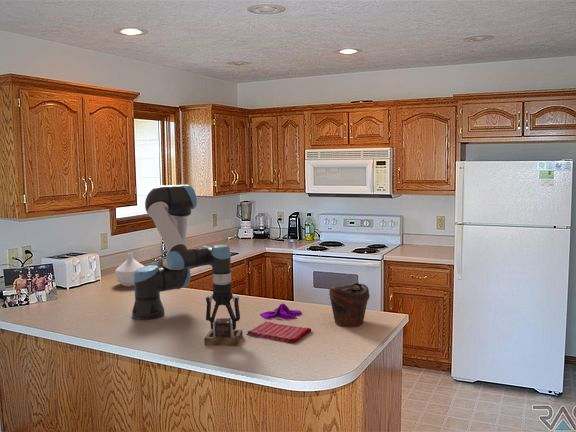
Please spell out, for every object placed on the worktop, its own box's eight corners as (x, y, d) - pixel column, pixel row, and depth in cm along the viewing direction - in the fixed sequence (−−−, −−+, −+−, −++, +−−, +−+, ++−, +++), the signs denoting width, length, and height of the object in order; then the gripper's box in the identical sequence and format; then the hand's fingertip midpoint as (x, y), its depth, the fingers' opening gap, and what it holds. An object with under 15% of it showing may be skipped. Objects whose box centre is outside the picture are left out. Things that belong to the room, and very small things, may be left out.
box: (216, 335, 226) (216, 318, 225) (231, 334, 227) (230, 317, 226) (216, 340, 220) (215, 323, 219) (230, 339, 221) (230, 322, 220)
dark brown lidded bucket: (373, 317, 250) (372, 279, 248) (365, 331, 231) (364, 291, 229) (336, 314, 256) (335, 278, 254) (325, 328, 237) (324, 288, 235)
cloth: (253, 318, 254) (253, 305, 253) (275, 308, 270) (274, 296, 269) (294, 325, 242) (294, 312, 242) (314, 314, 258) (313, 302, 257)
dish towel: (294, 345, 218) (294, 339, 218) (245, 336, 230) (245, 330, 229) (313, 332, 233) (312, 326, 233) (266, 324, 244) (266, 319, 244)
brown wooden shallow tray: (204, 345, 219) (204, 338, 218) (211, 335, 230) (211, 328, 229) (237, 345, 217) (237, 338, 217) (242, 336, 228) (242, 329, 228)
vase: (142, 288, 311) (141, 255, 309) (111, 288, 311) (109, 256, 309) (151, 280, 329) (149, 249, 327) (121, 281, 330) (119, 250, 327)
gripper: (196, 284, 218) (198, 339, 221) (243, 285, 216) (245, 340, 218) (201, 280, 225) (203, 333, 228) (247, 280, 223) (248, 334, 226)
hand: (223, 336), depth 223 cm, fingers closed on box, 7 cm apart
